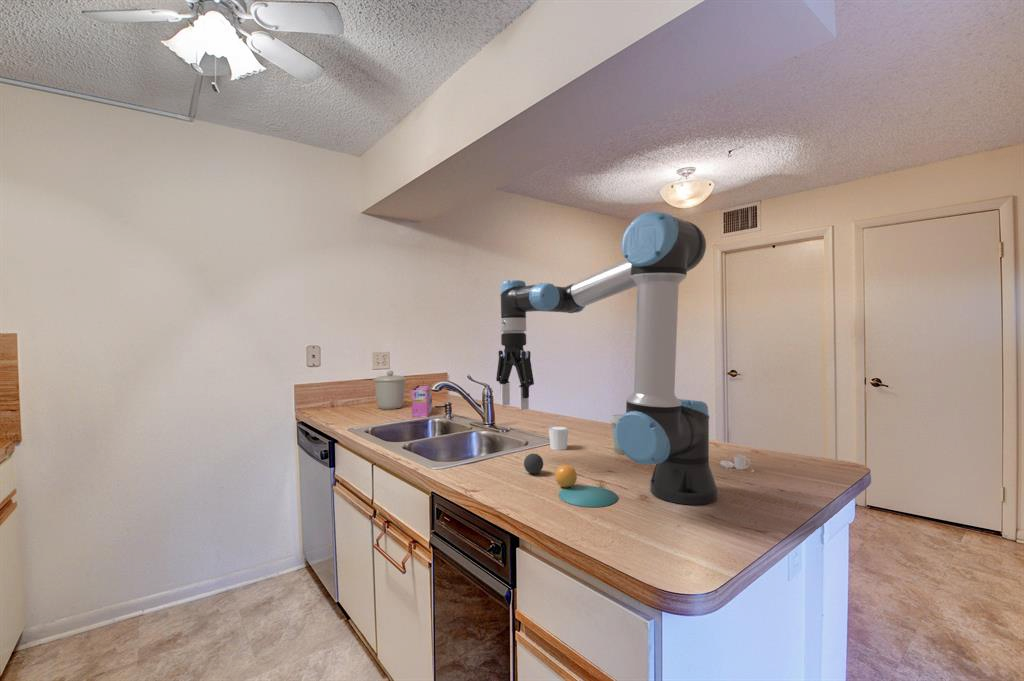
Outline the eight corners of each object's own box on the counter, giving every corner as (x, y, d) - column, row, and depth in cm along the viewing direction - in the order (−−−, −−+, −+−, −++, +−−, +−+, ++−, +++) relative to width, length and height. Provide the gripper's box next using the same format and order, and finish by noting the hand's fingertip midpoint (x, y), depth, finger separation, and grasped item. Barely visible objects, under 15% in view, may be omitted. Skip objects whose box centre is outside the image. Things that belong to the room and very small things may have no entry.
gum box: (418, 409, 239) (417, 385, 239) (432, 409, 240) (432, 384, 240) (411, 417, 215) (411, 390, 215) (427, 417, 216) (427, 389, 216)
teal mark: (630, 498, 103) (630, 497, 103) (586, 512, 96) (586, 511, 96) (588, 482, 115) (588, 482, 115) (546, 493, 107) (546, 492, 107)
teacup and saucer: (716, 467, 129) (715, 453, 129) (737, 464, 132) (737, 451, 132) (739, 476, 121) (739, 461, 121) (762, 473, 123) (762, 458, 123)
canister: (388, 411, 232) (388, 372, 232) (366, 409, 242) (366, 371, 242) (413, 407, 247) (413, 370, 247) (391, 404, 257) (391, 369, 257)
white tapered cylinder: (567, 451, 148) (567, 430, 148) (547, 450, 149) (547, 429, 149) (569, 446, 155) (569, 426, 155) (549, 445, 156) (549, 425, 156)
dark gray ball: (547, 474, 123) (547, 454, 123) (531, 477, 120) (531, 457, 120) (535, 469, 127) (535, 450, 127) (520, 472, 124) (519, 453, 124)
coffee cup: (633, 457, 140) (632, 419, 140) (607, 453, 144) (606, 417, 144) (640, 451, 147) (640, 415, 147) (615, 447, 151) (615, 413, 151)
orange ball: (581, 487, 111) (581, 466, 111) (564, 492, 108) (564, 470, 108) (567, 482, 116) (567, 461, 116) (550, 486, 113) (550, 464, 113)
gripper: (484, 333, 139) (485, 403, 139) (524, 331, 120) (525, 413, 120) (504, 333, 143) (505, 401, 143) (546, 331, 124) (546, 410, 124)
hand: (514, 407), depth 132 cm, fingers open, 9 cm apart
